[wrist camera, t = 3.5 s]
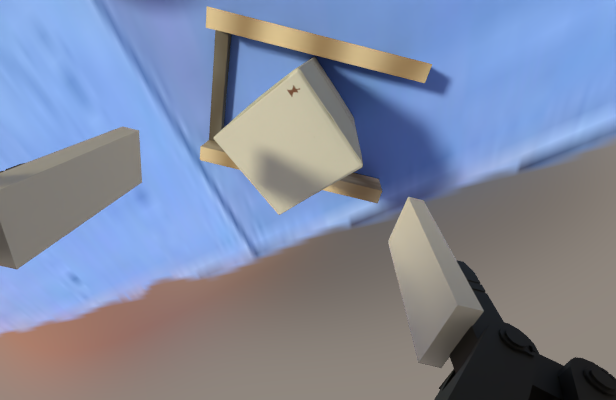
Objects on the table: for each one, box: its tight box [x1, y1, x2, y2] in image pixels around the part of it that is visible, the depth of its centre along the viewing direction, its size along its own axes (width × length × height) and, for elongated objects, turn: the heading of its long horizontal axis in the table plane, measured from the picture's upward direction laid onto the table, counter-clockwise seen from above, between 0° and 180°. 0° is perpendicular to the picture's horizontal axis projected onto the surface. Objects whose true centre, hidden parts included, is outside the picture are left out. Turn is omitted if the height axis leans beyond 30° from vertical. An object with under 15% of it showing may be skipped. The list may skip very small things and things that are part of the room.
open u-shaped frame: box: [200, 7, 432, 203], centre depth 29 cm, size 19×14×3 cm
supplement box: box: [214, 57, 363, 215], centre depth 24 cm, size 7×7×13 cm
